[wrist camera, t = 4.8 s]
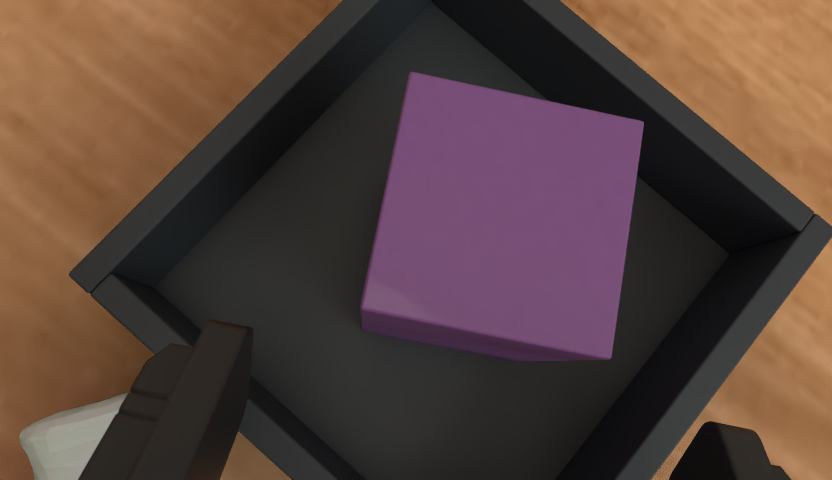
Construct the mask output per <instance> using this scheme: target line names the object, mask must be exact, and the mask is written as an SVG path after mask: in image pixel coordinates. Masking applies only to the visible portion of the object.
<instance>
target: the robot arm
mask: <svg viewBox="0 0 832 480" xmlns="http://www.w3.org/2000/svg"><path fill="white" fill-rule="evenodd" d="M252 346H253V328H252V327H247V326H242V325H237V324H232V323H227V322H222V321H218V320H213V319H210V320H208V321H207V323H206V324H205V326H204V328H203V330H202V332H201V334H200V336H199V338H198V340H197V341H196V343H195V345H194V347H188V346H183V345H178V344H173V343H170V344H169V345H168V346H166V347H165V348H164V349H162V350H161V351H160V352H158V353H157V354H156V355H155V356H153V357H152V358H151V359H149V360H148V361H147V362H146V363H145V365H144V366H143V368H142V370H141V371H140V373H139V375H138V377H137V378H136V380H135V382H134V383H133V385H132V387H131V391H130V393H128V394H127V396H126V397H125V399H124V401H123V402H122V404H121V406H120V408H119V412H118V414H116V415H115V416H114V418H113V420H112V421H111V423H110V425H109V427H108V428H107V430H106V432H105V433H104V435H103V437H102V439H101V440H100V442H99V444H98V446H97V447H96V449H95V451H94V452H93V454H92V456H91V458H90V459H89V461H88V463H87V464H86V466H85V468H84V470H83V471H82V473H81V475H80V477H79V478H78V480H220V477H221V474H222V472H223V469H224V466H225V464H226V461H227V459H228V456H229V453H230V451H231V448H232V445H233V443H234V440H235V437H236V435H237V432H238V430H239V427H240V424H241V421H242V418H243V415H244V411H245V408H246V403H247V399H248V393H249V385H250V372H251V359H252ZM669 480H791V479H790V478H789V476H788V475H787V474H786V473H785V471H784V470H783V469H782V468H781V466H776V465H771V464H770V461H769V459H768V457H767V454H766V452H765V449H764V447H763V444H762V442H761V440H760V438H759V436H758V434H757V433H756V432H755V431H753V430H751V429H746V428H741V427H736V426H731V425H726V424H721V423H716V422H711V421H709V422H706V423H705V424H703V425H702V427H701V428H700V429H699V431H698V433H697V434H696V436H695V437H694V439H693V440H692V442H691V444H690V445H689V447H688V448H687V450H686V451H685V453H684V454H683V456H682V458H681V459H680V461H679V462H678V464H677V465H676V467H675V468H674V470H673V472H672V473H671V476H670V478H669Z"/></svg>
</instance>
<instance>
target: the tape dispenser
mask: <svg viewBox="0 0 832 480" xmlns="http://www.w3.org/2000/svg"><path fill="white" fill-rule="evenodd" d="M128 393H130V392H126V393H123V394H119V395H117V396H114V397H112V398H109V399H107V400H103V401H99V402H95V403H92V404H88V405H84V406H80V407H76V408H72V409H68V410H64V411H60V412H58V413H55V414H53V415H50V416H48V417H45V418H43V419H40V420H38V421H36V422H34V423H32V424H30V425H28V426H27V427H25V428H24V429H23V430H22V431H21V434H20V436H19V438H20V445H21V446H22V448H23V449H24V451H25V452H26V454H27V455H28V458H29V460H30V463H31V466H32V469H33V473H34V480H78V478H79V477H80V475H81V473H82V471H83V470H84V468H85V466H86V464H87V463H88V461H89V459H90V458H91V456H92V454H93V452H94V451H95V449H96V447H97V446H98V444H99V442H100V440H101V439H102V437H103V435H104V433H105V432H106V430H107V428H108V427H109V425H110V423H111V421H112V420H113V418H114V416H115V415H116V414H118V412H119V408H120V406H121V404H122V402H123V401H124V399H125V397H126V396H127V394H128Z"/></svg>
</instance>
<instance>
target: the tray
mask: <svg viewBox="0 0 832 480" xmlns="http://www.w3.org/2000/svg"><path fill="white" fill-rule="evenodd" d="M410 72H416V73H421V74H426V75H430V76H435V77H439V78H444V79H449V80H453V81H458V82H463V83H467V84H472V85H477V86H481V87H486V88H491V89H495V90H500V91H505V92H509V93H514V94H518V95H523V96H528V97H532V98H537V99H542V100H546V101H551V102H556V103H560V104H565V105H570V106H574V107H579V108H584V109H588V110H593V111H598V112H602V113H607V114H611V115H616V116H621V117H625V118H630V119H635V120H639V121H643V122H644V127H643V135H642V142H641V149H640V156H639V163H638V170H637V178H636V185H635V192H634V199H633V206H632V214H631V221H630V228H629V235H628V242H627V249H626V257H625V264H624V271H623V278H622V285H621V293H620V300H619V307H618V314H617V321H616V328H615V336H614V343H613V350H612V357H611V359H609V360H567V361H508V360H503V359H498V358H493V357H488V356H483V355H478V354H473V353H468V352H463V351H458V350H453V349H448V348H443V347H438V346H433V345H428V344H423V343H418V342H413V341H408V340H403V339H398V338H393V337H388V336H383V335H378V334H373V333H368V332H363V331H362V327H361V312H360V304H361V299H362V295H363V290H364V285H365V280H366V276H367V271H368V266H369V261H370V257H371V252H372V247H373V242H374V238H375V233H376V228H377V223H378V219H379V214H380V209H381V204H382V200H383V195H384V190H385V185H386V180H387V176H388V171H389V166H390V161H391V157H392V152H393V147H394V142H395V138H396V133H397V128H398V123H399V119H400V114H401V109H402V104H403V100H404V95H405V90H406V85H407V81H408V76H409V73H410ZM831 238H832V226H831V225H829V224H828V223H827V222H826V221H825V220H823V219H822V218H821V217H820V216H819V215H817V214H814V212H813V211H812V210H811V209H810V208H809V207H808V206H806V205H805V204H804V203H803V202H802V201H800V200H799V199H798V198H797V197H796V196H794V195H793V194H792V193H791V192H789V191H788V190H787V189H786V188H785V187H783V186H782V185H781V184H780V183H779V182H777V181H776V180H775V179H774V178H773V177H771V176H770V175H769V174H768V173H767V172H765V171H764V170H763V169H762V168H761V167H759V166H758V165H757V164H756V163H755V162H753V161H752V160H751V159H750V158H749V157H747V156H746V155H745V154H744V153H743V152H741V151H740V150H739V149H738V148H737V147H735V146H734V145H733V144H732V143H731V142H729V141H728V140H727V139H726V138H724V137H723V136H722V135H721V134H720V133H718V132H717V131H716V130H715V129H714V128H712V127H711V126H710V125H709V124H708V123H706V122H705V121H704V120H703V119H702V118H700V117H699V116H698V115H697V114H696V113H694V112H693V111H692V110H691V109H690V108H688V107H687V106H686V105H685V104H684V103H682V102H681V101H680V100H679V99H678V98H676V97H675V96H674V95H673V94H672V93H670V92H669V91H668V90H667V89H666V88H664V87H663V86H662V85H661V84H659V83H658V82H657V81H656V80H655V79H653V78H652V77H651V76H650V75H649V74H647V73H646V72H645V71H644V70H643V69H641V68H640V67H639V66H638V65H637V64H635V63H634V62H633V61H632V60H631V59H629V58H628V57H627V56H626V55H625V54H623V53H622V52H621V51H620V50H619V49H617V48H616V47H615V46H614V45H613V44H611V43H610V42H609V41H608V40H607V39H605V38H604V37H603V36H602V35H601V34H599V33H598V32H597V31H596V30H594V29H593V28H592V27H591V26H590V25H588V24H587V23H586V22H585V21H584V20H582V19H581V18H580V17H579V16H578V15H576V14H575V13H574V12H573V11H572V10H570V9H569V8H568V7H567V6H566V5H564V4H563V3H562V2H561V1H560V0H343V1H342V2H341V3H340V4H339V5H338V6H337V7H336V8H335V9H334V10H333V11H332V12H331V13H330V14H329V15H328V16H327V17H326V18H325V19H324V20H323V21H322V22H321V23H320V24H319V25H318V26H317V27H316V28H315V29H314V30H313V31H312V32H311V33H310V34H309V35H308V36H307V37H306V38H305V39H304V40H303V41H302V42H301V43H300V44H299V45H298V46H297V47H296V48H295V49H294V50H293V51H292V52H291V53H290V54H289V55H288V56H287V57H286V58H285V59H284V60H283V61H282V62H281V63H279V64H278V65H277V66H276V67H275V68H274V69H273V70H272V71H271V72H270V73H269V74H268V75H267V76H266V77H265V78H264V79H263V80H262V81H261V82H260V83H259V84H258V85H257V86H256V87H255V88H254V89H253V90H252V91H251V92H250V93H249V94H248V95H247V96H246V97H245V98H244V99H243V100H242V101H241V102H240V103H239V104H238V105H237V106H236V107H235V108H234V109H233V110H232V111H231V112H230V113H229V114H228V115H227V116H226V117H225V118H224V119H223V120H222V121H221V122H220V123H219V124H218V125H217V126H216V127H215V128H214V129H213V130H212V131H211V132H210V133H209V134H208V135H207V136H206V137H205V138H204V139H203V140H202V141H201V142H200V143H199V144H198V145H197V146H196V147H195V148H194V149H193V150H192V151H191V152H190V153H189V154H188V155H187V156H186V157H185V158H184V159H183V160H182V161H181V162H180V163H179V164H178V165H177V166H176V167H175V168H174V169H173V170H172V171H171V172H170V173H169V174H168V175H167V176H166V177H165V178H164V179H163V180H162V181H161V182H160V183H159V184H158V185H157V186H156V187H155V188H154V189H153V190H152V191H151V192H150V193H149V194H148V195H147V196H146V197H145V198H144V199H143V200H142V201H141V202H140V203H139V204H138V205H137V206H136V207H135V208H134V209H133V210H132V211H131V212H130V213H129V214H128V215H127V216H126V217H125V218H124V219H123V220H122V221H121V222H120V223H119V224H118V225H117V226H116V227H115V228H114V229H113V230H112V231H111V232H110V233H109V234H108V235H107V236H106V237H105V238H104V239H103V240H102V241H101V242H100V243H99V244H98V245H97V246H96V247H95V248H94V249H93V250H92V251H91V252H90V253H89V254H88V255H87V256H86V257H85V258H84V259H83V260H82V261H81V262H80V263H79V264H78V265H77V266H76V267H75V268H74V269H73V270H72V271H71V272H70V273H69V276H70V277H71V278H72V279H73V280H74V281H75V282H76V283H77V284H78V285H80V286H81V287H82V288H83V289H84V290H85V291H86V292H87V293H91V296H92V297H93V298H94V299H95V300H96V301H97V302H98V303H99V304H100V305H101V306H103V307H104V308H105V309H106V310H107V311H108V312H109V313H110V314H111V315H112V316H113V317H115V318H116V319H117V320H118V321H119V322H120V323H121V324H122V325H123V326H124V327H125V328H127V329H128V330H129V331H130V332H131V333H132V334H133V335H134V336H135V337H136V338H138V339H139V340H140V341H141V342H142V343H143V344H144V345H145V346H146V347H147V348H148V349H150V350H151V351H152V352H153V353H154V354H155V355H156V354H157V353H158V352H160V351H161V350H162V349H164V348H165V347H166V346H168V345H169V344H170V343H173V344H178V345H183V346H188V347H194V345H195V343H196V341H197V340H198V338H199V336H200V334H201V332H202V330H203V328H204V326H205V324H206V323H207V321H208V320H210V319H213V320H218V321H222V322H227V323H232V324H237V325H242V326H247V327H252V328H253V346H252V359H251V372H250V385H249V393H248V399H247V403H246V408H245V411H244V415H243V418H242V421H241V424H240V427H239V430H238V431H239V432H240V433H241V434H243V435H244V436H245V437H246V438H247V439H248V440H249V441H250V442H251V443H252V444H253V445H255V446H256V447H257V448H258V449H259V450H260V451H261V452H262V453H263V454H264V455H266V456H267V457H268V458H269V459H270V460H271V461H272V462H273V463H274V464H275V465H276V466H278V467H279V468H280V469H281V470H282V471H283V472H284V473H285V474H286V475H287V476H288V477H290V478H291V479H292V480H651V479H652V477H653V476H654V475H655V473H656V472H657V471H658V469H659V468H660V467H661V465H662V464H663V463H664V461H665V460H666V459H667V457H668V456H669V455H670V453H671V452H672V451H673V449H674V448H675V447H676V445H677V444H678V443H679V441H680V440H681V439H682V437H683V436H684V435H685V433H686V432H687V431H688V429H689V428H690V427H691V425H692V424H693V423H694V421H695V420H696V419H697V417H698V416H699V414H700V413H701V412H702V410H703V409H704V408H705V406H706V405H707V404H708V402H709V401H710V400H711V398H712V397H713V396H714V394H715V393H716V392H717V390H718V389H719V388H720V386H721V385H722V384H723V382H724V381H725V380H726V378H727V377H728V376H729V374H730V373H731V372H732V370H733V369H734V368H735V366H736V365H737V364H738V362H739V361H740V360H741V358H742V357H743V356H744V354H745V353H746V351H747V350H748V349H749V347H750V346H751V345H752V343H753V342H754V341H755V339H756V338H757V337H758V335H759V334H760V333H761V331H762V330H763V329H764V327H765V326H766V325H767V323H768V322H769V321H770V319H771V318H772V317H773V315H774V314H775V313H776V311H777V310H778V309H779V307H780V306H781V305H782V303H783V302H784V301H785V299H786V298H787V297H788V295H789V294H790V293H791V291H792V290H793V288H794V287H795V286H796V284H797V283H798V282H799V280H800V279H801V278H802V276H803V275H804V274H805V272H806V271H807V270H808V268H809V267H810V266H811V264H812V263H813V262H814V260H815V259H816V258H817V256H818V255H819V254H820V252H821V251H822V250H823V248H824V247H825V246H826V244H827V243H828V242H829V240H830V239H831Z"/></svg>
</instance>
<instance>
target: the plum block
mask: <svg viewBox="0 0 832 480" xmlns="http://www.w3.org/2000/svg"><path fill="white" fill-rule="evenodd" d="M643 127H644V122H643V121H639V120H635V119H630V118H625V117H621V116H616V115H611V114H607V113H602V112H598V111H593V110H588V109H584V108H579V107H574V106H570V105H565V104H560V103H556V102H551V101H546V100H542V99H537V98H532V97H528V96H523V95H518V94H514V93H509V92H505V91H500V90H495V89H491V88H486V87H481V86H477V85H472V84H467V83H463V82H458V81H453V80H449V79H444V78H439V77H435V76H430V75H426V74H421V73H416V72H410V73H409V76H408V81H407V85H406V90H405V95H404V100H403V104H402V109H401V114H400V119H399V123H398V128H397V133H396V138H395V142H394V147H393V152H392V157H391V161H390V166H389V171H388V176H387V180H386V185H385V190H384V195H383V200H382V204H381V209H380V214H379V219H378V223H377V228H376V233H375V238H374V242H373V247H372V252H371V257H370V261H369V266H368V271H367V276H366V280H365V285H364V290H363V295H362V299H361V304H360V312H361V327H362V331H363V332H368V333H373V334H378V335H383V336H388V337H393V338H398V339H403V340H408V341H413V342H418V343H423V344H428V345H433V346H438V347H443V348H448V349H453V350H458V351H463V352H468V353H473V354H478V355H483V356H488V357H493V358H498V359H503V360H508V361H567V360H609V359H611V357H612V350H613V343H614V336H615V328H616V321H617V314H618V307H619V300H620V293H621V285H622V278H623V271H624V264H625V257H626V249H627V242H628V235H629V228H630V221H631V214H632V206H633V199H634V192H635V185H636V178H637V170H638V163H639V156H640V149H641V142H642V135H643Z"/></svg>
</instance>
